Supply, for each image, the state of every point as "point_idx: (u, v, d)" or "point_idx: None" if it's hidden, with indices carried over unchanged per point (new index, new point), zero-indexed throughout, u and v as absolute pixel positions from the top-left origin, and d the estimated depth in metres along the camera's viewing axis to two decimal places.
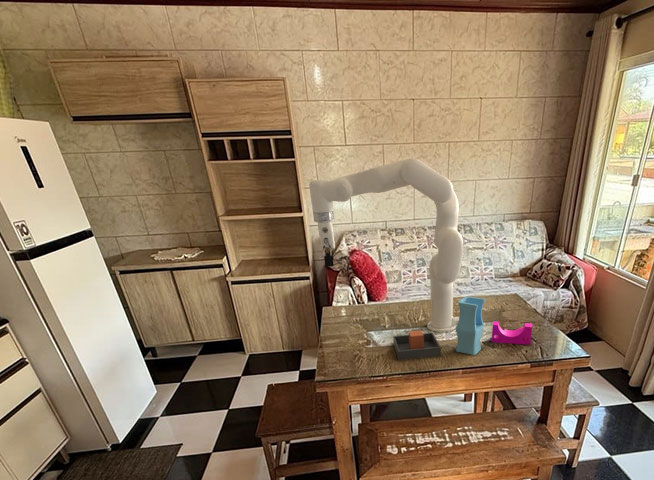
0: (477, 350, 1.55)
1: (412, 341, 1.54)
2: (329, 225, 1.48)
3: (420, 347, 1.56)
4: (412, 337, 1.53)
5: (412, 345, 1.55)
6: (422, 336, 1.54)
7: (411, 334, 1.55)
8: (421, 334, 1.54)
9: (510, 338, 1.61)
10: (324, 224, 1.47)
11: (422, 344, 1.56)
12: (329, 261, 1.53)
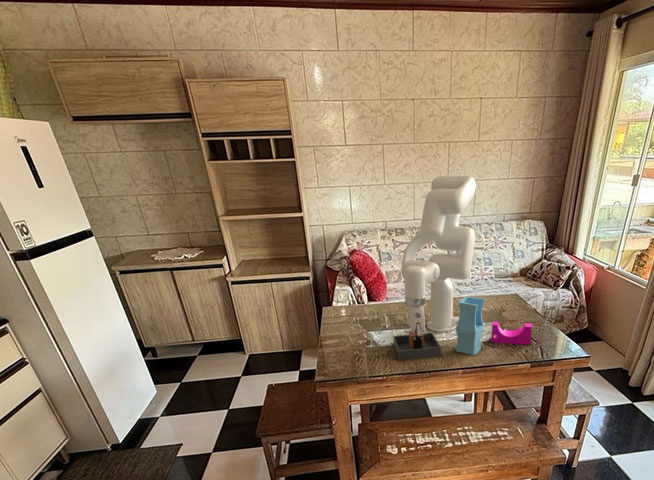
0: (477, 350, 1.55)
1: (412, 341, 1.54)
2: (422, 310, 1.47)
3: None
4: (412, 337, 1.53)
5: (412, 345, 1.55)
6: (422, 336, 1.54)
7: (411, 334, 1.55)
8: (421, 334, 1.54)
9: (510, 338, 1.61)
10: (417, 310, 1.46)
11: (422, 344, 1.56)
12: (418, 344, 1.54)
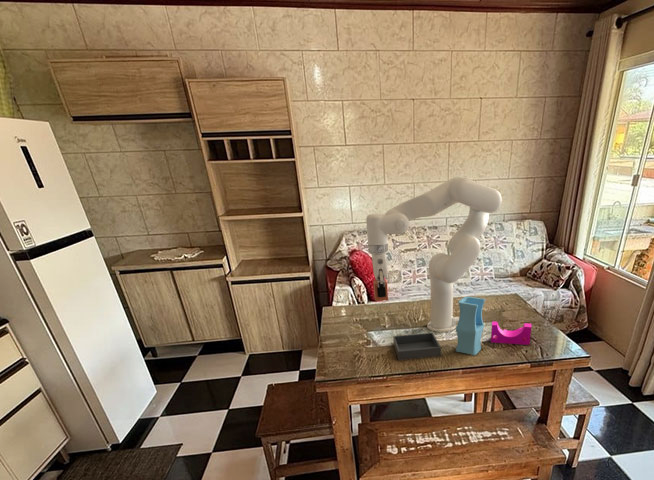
0: (477, 350, 1.55)
1: (376, 289, 1.60)
2: (384, 257, 1.53)
3: None
4: (376, 285, 1.59)
5: (376, 293, 1.61)
6: (385, 284, 1.60)
7: (375, 282, 1.61)
8: (385, 282, 1.60)
9: (509, 338, 1.61)
10: (379, 256, 1.52)
11: (386, 292, 1.61)
12: (382, 292, 1.60)
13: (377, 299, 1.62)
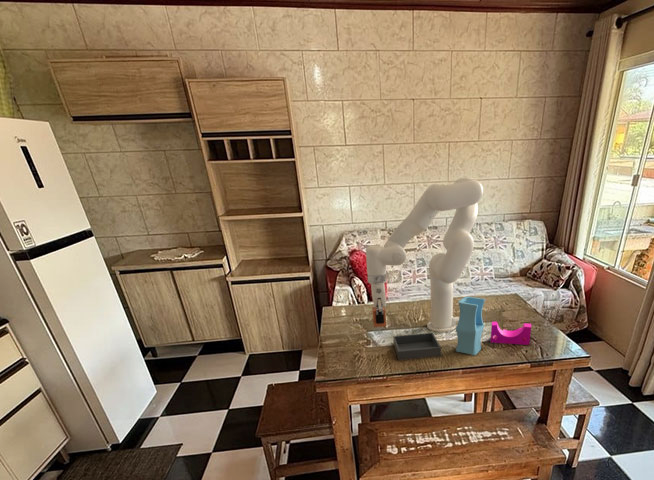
0: (477, 350, 1.55)
1: (375, 316, 1.67)
2: (383, 286, 1.60)
3: None
4: (374, 312, 1.66)
5: (375, 319, 1.68)
6: (384, 311, 1.67)
7: (374, 309, 1.68)
8: (383, 309, 1.67)
9: (509, 338, 1.61)
10: (378, 286, 1.59)
11: (384, 319, 1.68)
12: (380, 319, 1.67)
13: (376, 325, 1.69)
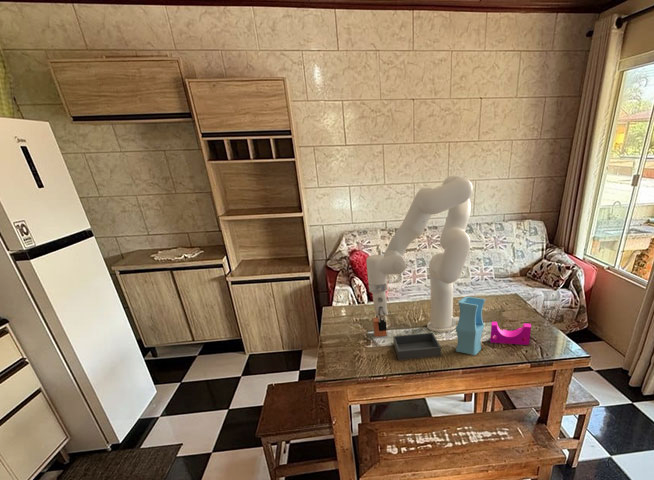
0: (477, 350, 1.55)
1: (375, 326, 1.69)
2: (384, 295, 1.62)
3: (383, 332, 1.71)
4: (375, 322, 1.69)
5: (375, 330, 1.70)
6: None
7: (374, 320, 1.70)
8: None
9: (509, 338, 1.61)
10: (379, 295, 1.61)
11: None
12: (383, 326, 1.66)
13: (376, 335, 1.72)
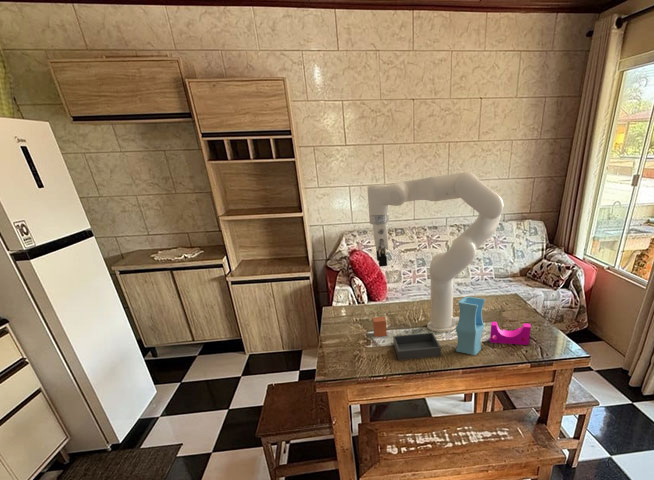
0: (477, 350, 1.55)
1: (375, 326, 1.69)
2: (385, 227, 1.57)
3: (383, 332, 1.71)
4: (375, 322, 1.69)
5: (375, 330, 1.70)
6: (384, 322, 1.69)
7: (374, 320, 1.70)
8: (383, 320, 1.70)
9: (509, 339, 1.61)
10: (380, 226, 1.56)
11: (385, 329, 1.71)
12: (383, 261, 1.62)
13: (376, 335, 1.72)
